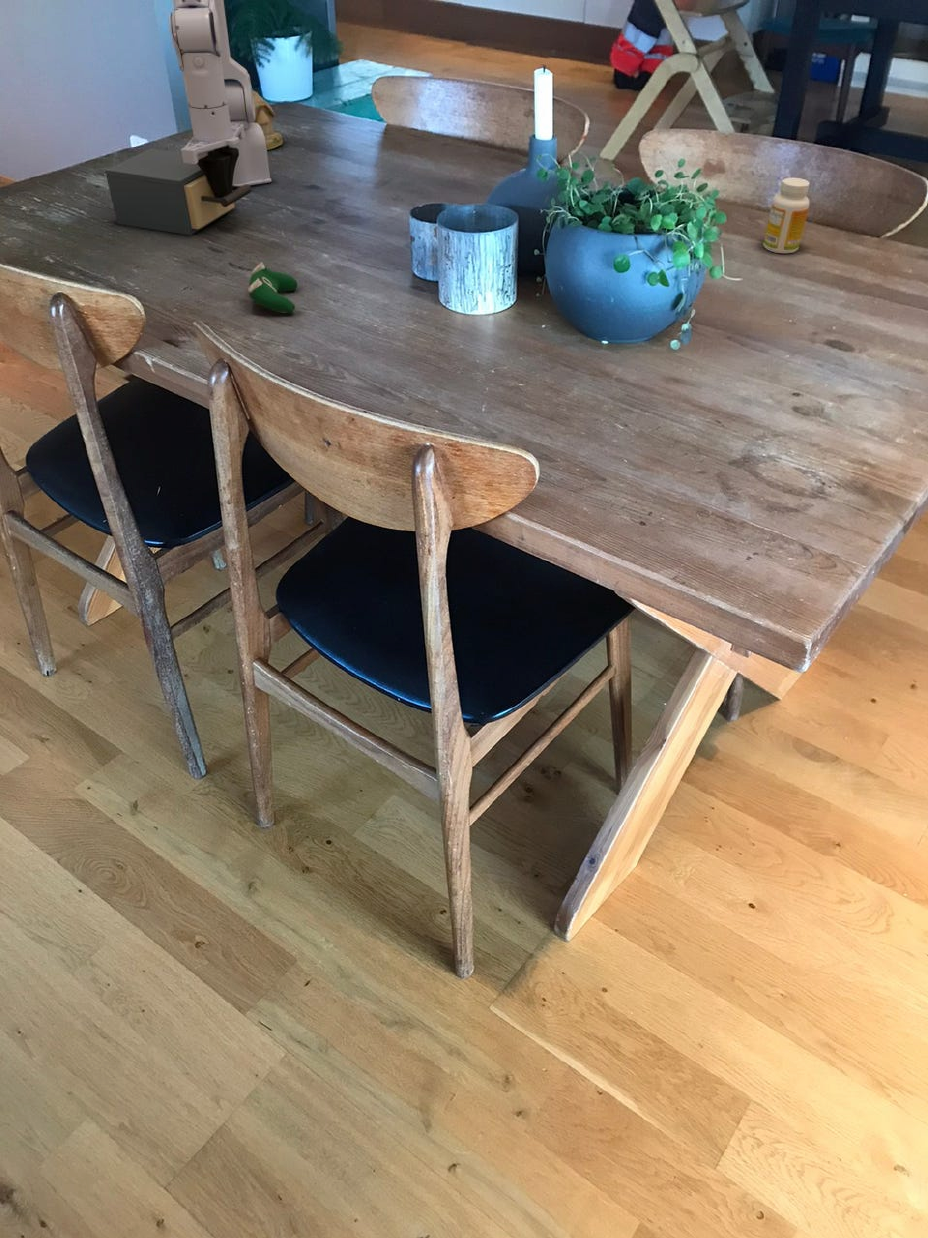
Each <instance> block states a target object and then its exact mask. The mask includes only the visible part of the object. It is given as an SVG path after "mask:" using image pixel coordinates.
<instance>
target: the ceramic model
mask: <svg viewBox="0 0 928 1238" xmlns="http://www.w3.org/2000/svg"><path fill="white" fill-rule="evenodd" d="M252 91H253V98H254V106H255V120H254V121H253V123H258V124H259V125H260V127H261V129H262V131H263V134H264V137H265V142H266V149H267V151H268V150H272V149H275V148H277V147H279V146H281V145H283V139H282V138H283V136H282V134H281V133H279V132H278V131H276V130H274V127H273V118H275V117H276V114H275V111H274V110H273V108H272V107H271V105H270V104H269V103H268V102H267V101H266V100H265V99H263V97H262V96H260V94H259V92H258V91H255V90H253V89H252Z"/></svg>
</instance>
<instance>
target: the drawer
mask: <svg viewBox="0 0 928 1238" xmlns="http://www.w3.org/2000/svg"><path fill="white" fill-rule="evenodd" d="M184 190H185V195H186V200H187V206H188V211H189V217H190V222H191V227H192V228H193V229H199V228H201V227H203V226H204V225H206V224H208V223H209V222H211V221H213V220H214V219H216V218H217V217H219V216H221V215H222V214H224V213H226V212H227V211H229V210H230V209H231V210H232V209H234V208H235V203H236V202H238V201H239V200H241V199H242V198H244V197H246V196H247V195H249V194H250V193H251V192H252V186H251V185H250V186H249V185H248V184H245V185H243V186H235V185H232V192H231V193H229V194H228V195H226V196H224V197H223V198H215V197H214V194H213V192H212V189H211V187H210V185H209V182H208V180H207V178H206V176H205V175H204V174H203V175H201V176H199V177H197V178H196V179H194V180H192V181H190V182H188V183H186V184H185V186H184ZM229 212H230V211H229ZM226 214H227V213H226ZM221 217H222V216H221ZM216 220H217V219H216ZM213 222H214V221H213ZM208 225H209V224H208ZM203 228H204V227H203Z"/></svg>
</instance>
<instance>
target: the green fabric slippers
mask: <svg viewBox="0 0 928 1238" xmlns="http://www.w3.org/2000/svg"><path fill="white" fill-rule="evenodd" d="M297 288H298V281H296V279H295V278H294V277H293V276H291V275H289V274H287V273H283V272H280V271H276V270H275V271H274V270H271V269H269V268H267V267H266V266H265V265H264V263H263V262H261V261H260V263H259V264H257V265H256V267H254V268H253V270H252V271H251V276H250V279H249V285H248V290H247V291H248V295H249V297H250V298H251V299H252V300H253V302H254V303H255V304H256V305H259V306H261V307H263V308H265V309H268V310H271V311H274V312H277V313H282V314H288V315H289V314H290V315H291V314H293V312H294V310H295V308H296V306H295V305H296V304H294V303H293V301H292V300H290V299H289V298H288V297H286V296H285V295H282V294H281V293H278V292H294V291H296V290H297Z"/></svg>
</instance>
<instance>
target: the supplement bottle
mask: <svg viewBox="0 0 928 1238" xmlns="http://www.w3.org/2000/svg"><path fill="white" fill-rule="evenodd" d="M810 183H811V182H810V181H809V180H807V179H804V178H801V177H786V178H783V179H782V180H781V184H780V186H779V187H780V189H779V191H780V193H777V194H776V195H774V197H773V198H772V202H771V207H770V211H769V217H768V219H767V225H766V230H765V234H764V239H763V244H762V245H763V248H764V249H766V250H768V251H769V252H771V253H772V252H773V253H776V254H792V253H795V252H797V251H798V250H799V248H800V245H801V241H802V236H803V233H804V228H805V225H806V221H807V218H808V217H807V216H808V214H809V213H808V212H809V209H810V204H811V203H810V202H811V201H810V199H809V198H808V196H806V195H807V194H808V192H809V189H810Z"/></svg>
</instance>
